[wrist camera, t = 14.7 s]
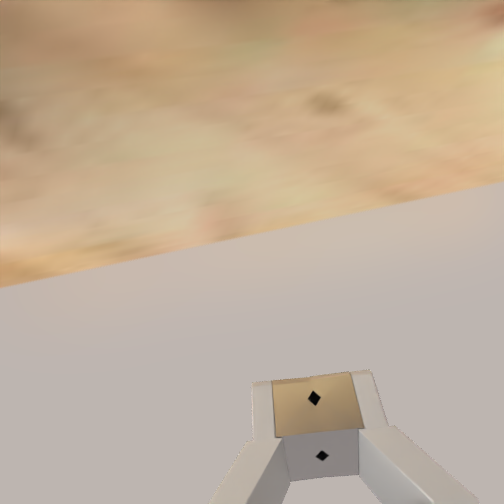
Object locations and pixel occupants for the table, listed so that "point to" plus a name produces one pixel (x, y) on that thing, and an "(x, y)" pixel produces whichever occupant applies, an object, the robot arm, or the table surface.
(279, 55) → the table surface
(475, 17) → the table surface
